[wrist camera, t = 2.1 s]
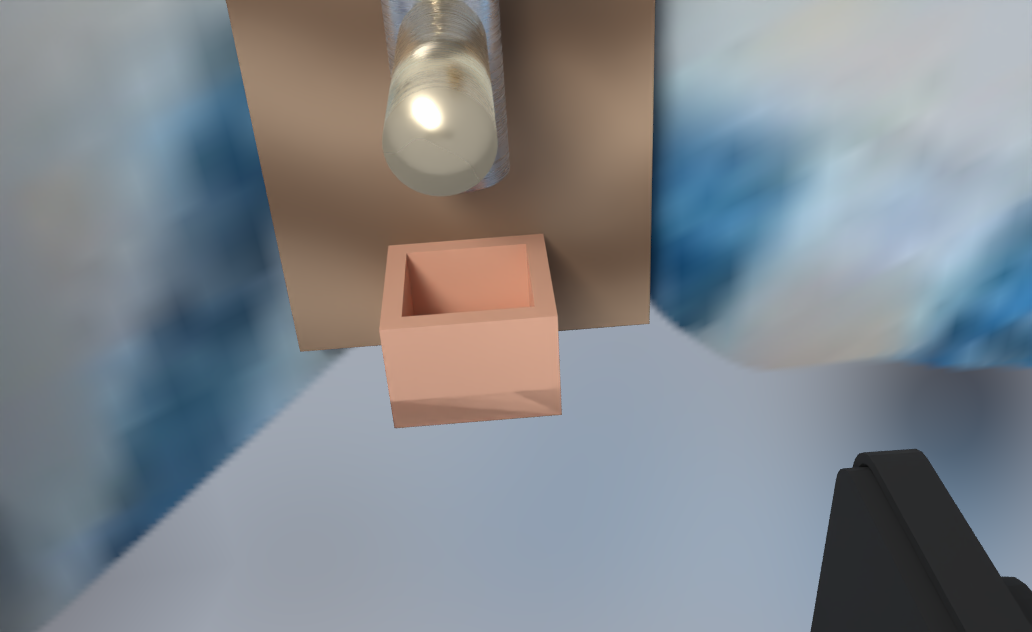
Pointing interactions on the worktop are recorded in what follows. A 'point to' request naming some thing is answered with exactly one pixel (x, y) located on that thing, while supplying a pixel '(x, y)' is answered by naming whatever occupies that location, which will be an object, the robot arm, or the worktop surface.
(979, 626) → the robot arm
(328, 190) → the base board
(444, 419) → the socket block
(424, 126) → the brushed metal peg
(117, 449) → the worktop surface
